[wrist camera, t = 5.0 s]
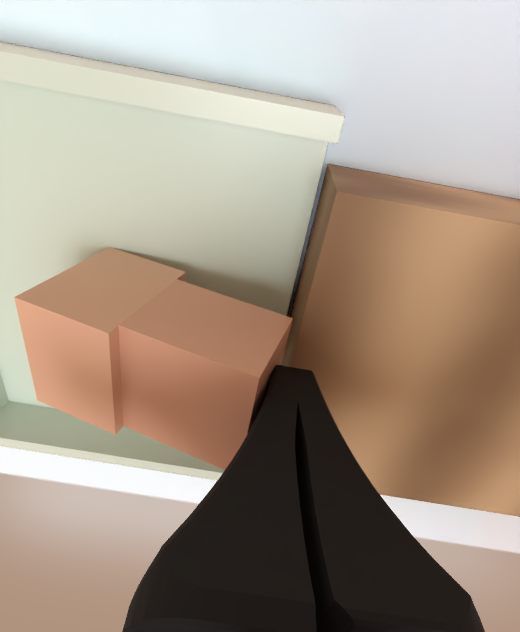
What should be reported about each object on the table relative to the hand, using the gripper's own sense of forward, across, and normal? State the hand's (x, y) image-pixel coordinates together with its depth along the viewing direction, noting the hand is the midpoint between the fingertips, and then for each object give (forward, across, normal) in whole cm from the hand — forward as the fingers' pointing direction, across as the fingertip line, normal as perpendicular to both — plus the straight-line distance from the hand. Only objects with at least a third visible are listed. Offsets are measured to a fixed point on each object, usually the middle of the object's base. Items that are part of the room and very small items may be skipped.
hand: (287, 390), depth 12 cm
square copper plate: (+4, -7, 0) cm, 8 cm away
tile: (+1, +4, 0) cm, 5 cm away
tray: (+4, +6, 0) cm, 8 cm away
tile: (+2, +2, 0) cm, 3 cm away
